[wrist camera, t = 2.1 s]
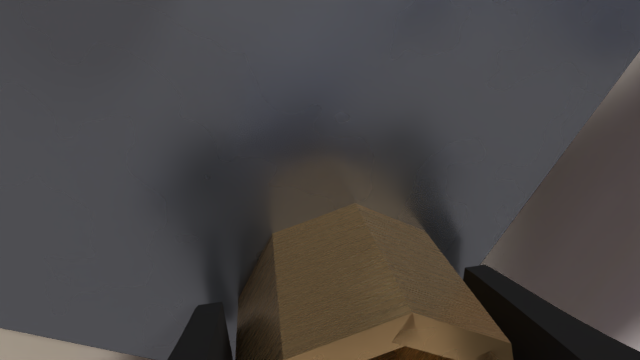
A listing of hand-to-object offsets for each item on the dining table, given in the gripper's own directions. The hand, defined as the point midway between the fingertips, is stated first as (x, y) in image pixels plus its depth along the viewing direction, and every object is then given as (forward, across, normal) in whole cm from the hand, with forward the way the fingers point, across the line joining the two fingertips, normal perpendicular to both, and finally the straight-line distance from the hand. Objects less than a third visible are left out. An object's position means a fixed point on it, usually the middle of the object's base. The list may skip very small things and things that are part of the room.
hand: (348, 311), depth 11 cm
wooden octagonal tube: (+1, 0, 0) cm, 1 cm away
